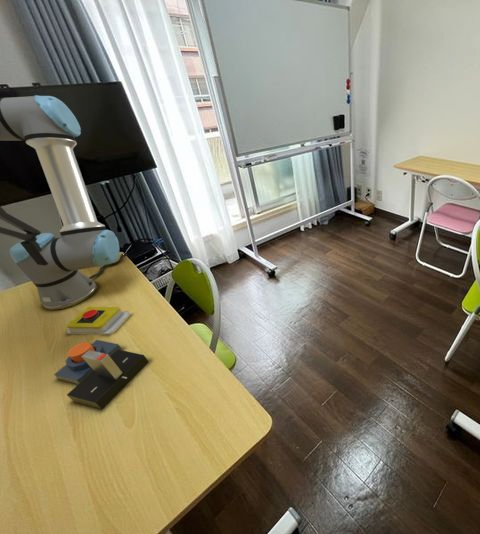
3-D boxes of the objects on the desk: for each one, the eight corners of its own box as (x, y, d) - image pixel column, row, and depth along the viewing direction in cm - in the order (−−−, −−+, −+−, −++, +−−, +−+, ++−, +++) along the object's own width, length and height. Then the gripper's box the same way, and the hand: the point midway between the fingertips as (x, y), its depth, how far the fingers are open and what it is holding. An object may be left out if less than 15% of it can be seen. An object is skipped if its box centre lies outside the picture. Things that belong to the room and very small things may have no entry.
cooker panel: (123, 356, 83) (117, 348, 82) (153, 362, 81) (148, 355, 79) (73, 401, 72) (66, 394, 71) (107, 411, 70) (100, 403, 68)
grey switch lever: (97, 375, 75) (80, 355, 70) (105, 368, 76) (88, 349, 72) (116, 380, 74) (99, 360, 69) (123, 373, 75) (107, 353, 71)
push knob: (86, 346, 82) (81, 340, 81) (99, 349, 81) (94, 343, 80) (68, 360, 78) (63, 354, 77) (82, 364, 77) (77, 358, 76)
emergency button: (82, 303, 96) (125, 303, 95) (89, 313, 99) (132, 313, 98) (57, 324, 89) (104, 324, 88) (66, 334, 91) (111, 334, 90)
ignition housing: (100, 344, 87) (93, 335, 85) (122, 349, 86) (115, 339, 83) (58, 379, 78) (49, 370, 76) (81, 385, 76) (72, 376, 74)
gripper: (-155, 225, 47) (-46, 319, 59) (21, 175, 67) (76, 253, 79) (-183, 222, 49) (-71, 314, 61) (-3, 174, 68) (54, 251, 81)
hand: (12, 280), depth 70 cm, fingers open, 13 cm apart
